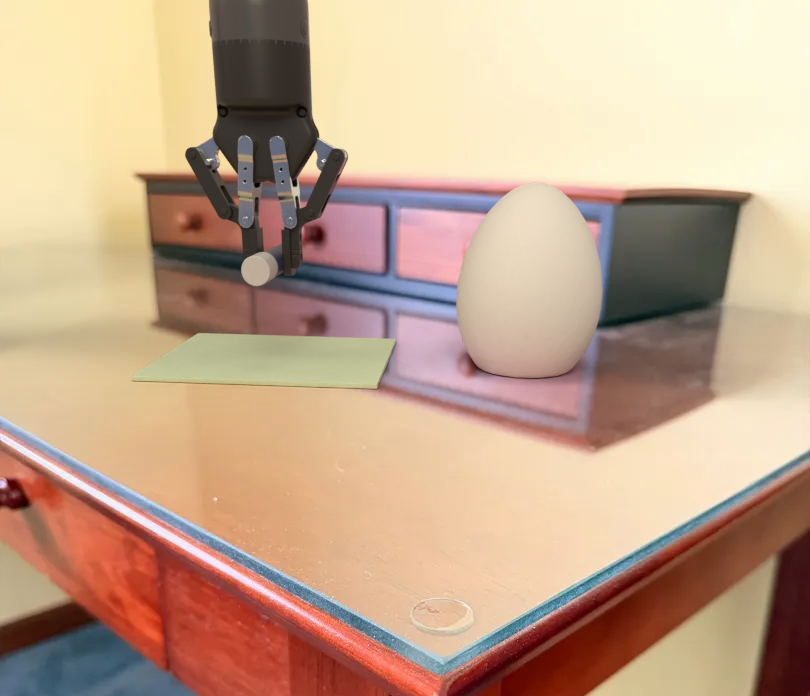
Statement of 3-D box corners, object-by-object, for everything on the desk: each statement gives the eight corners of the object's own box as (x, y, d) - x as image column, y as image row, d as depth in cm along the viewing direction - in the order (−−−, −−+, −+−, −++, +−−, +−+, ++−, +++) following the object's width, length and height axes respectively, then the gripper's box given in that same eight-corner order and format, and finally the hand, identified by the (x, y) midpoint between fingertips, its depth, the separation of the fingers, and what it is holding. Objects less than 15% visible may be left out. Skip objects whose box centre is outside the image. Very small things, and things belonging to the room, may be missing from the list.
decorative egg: (583, 354, 78) (602, 181, 71) (603, 387, 66) (627, 186, 60) (454, 351, 78) (461, 179, 72) (453, 382, 67) (461, 183, 61)
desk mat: (131, 380, 66) (130, 376, 66) (198, 336, 82) (198, 332, 82) (377, 389, 65) (377, 384, 65) (396, 342, 81) (396, 338, 81)
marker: (279, 269, 76) (271, 244, 75) (302, 263, 76) (295, 238, 75) (246, 289, 65) (236, 259, 64) (273, 282, 65) (264, 252, 64)
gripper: (356, 46, 66) (359, 270, 74) (188, 46, 67) (207, 267, 74) (343, 34, 59) (347, 282, 67) (156, 33, 60) (181, 278, 68)
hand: (273, 273), depth 71 cm, fingers closed on marker, 2 cm apart
